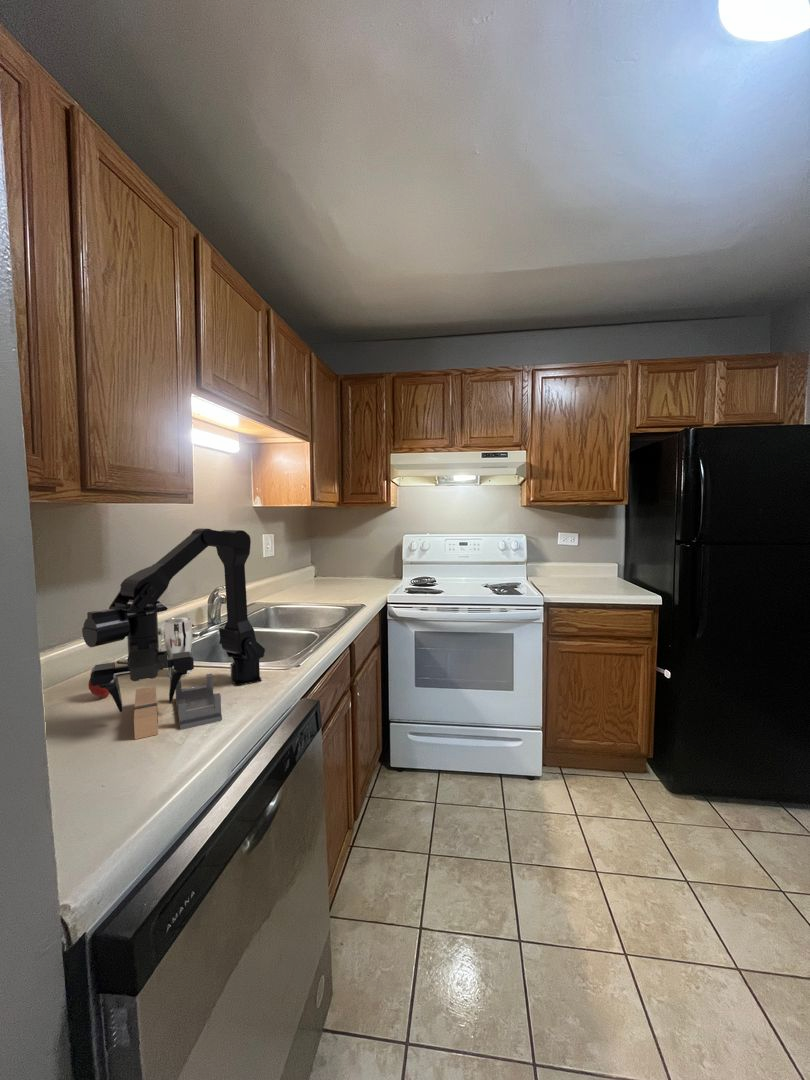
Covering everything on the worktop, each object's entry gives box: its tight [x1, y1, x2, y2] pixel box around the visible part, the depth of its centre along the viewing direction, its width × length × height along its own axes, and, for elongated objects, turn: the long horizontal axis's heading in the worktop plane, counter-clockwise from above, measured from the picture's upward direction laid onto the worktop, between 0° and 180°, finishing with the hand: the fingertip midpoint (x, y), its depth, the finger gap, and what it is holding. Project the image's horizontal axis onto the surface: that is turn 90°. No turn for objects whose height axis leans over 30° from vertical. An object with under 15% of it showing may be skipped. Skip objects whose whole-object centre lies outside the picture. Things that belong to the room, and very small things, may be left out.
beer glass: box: [163, 616, 193, 678], centre depth 126 cm, size 7×7×15 cm
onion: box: [87, 679, 111, 699], centre depth 110 cm, size 6×6×8 cm
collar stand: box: [174, 673, 223, 731], centre depth 103 cm, size 8×18×5 cm, turn 29°
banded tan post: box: [133, 685, 159, 740], centre depth 98 cm, size 4×18×4 cm, turn 29°
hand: (146, 706), depth 98 cm, fingers open, 9 cm apart
